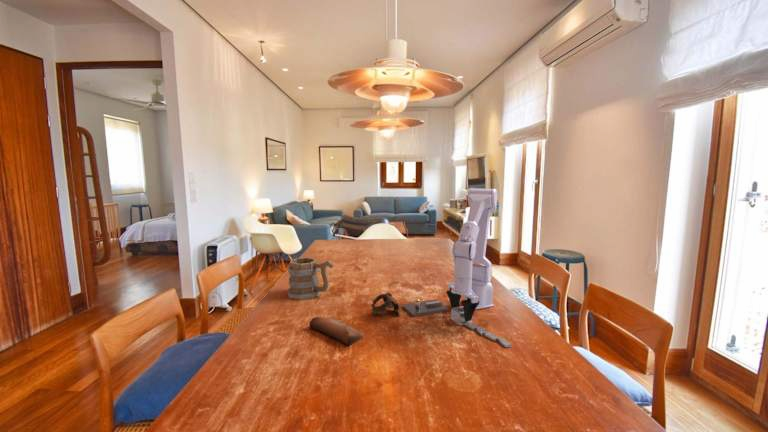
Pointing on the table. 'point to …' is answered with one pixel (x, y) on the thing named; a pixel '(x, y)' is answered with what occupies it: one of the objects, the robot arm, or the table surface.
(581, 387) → the table surface
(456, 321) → the end link
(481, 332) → the chain
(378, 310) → the pottery mug
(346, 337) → the sunglasses case
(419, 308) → the keeper
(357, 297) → the table surface
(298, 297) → the tankard
